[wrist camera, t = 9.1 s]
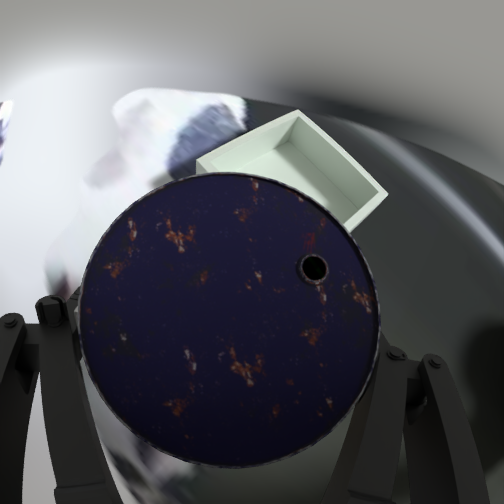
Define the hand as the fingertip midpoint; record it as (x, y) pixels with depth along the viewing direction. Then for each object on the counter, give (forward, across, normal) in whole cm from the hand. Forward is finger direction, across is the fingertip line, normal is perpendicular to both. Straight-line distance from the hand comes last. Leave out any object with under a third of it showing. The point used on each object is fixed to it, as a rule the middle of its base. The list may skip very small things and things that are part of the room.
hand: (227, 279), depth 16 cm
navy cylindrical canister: (+3, 0, -8) cm, 9 cm away
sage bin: (+22, +7, 0) cm, 23 cm away
